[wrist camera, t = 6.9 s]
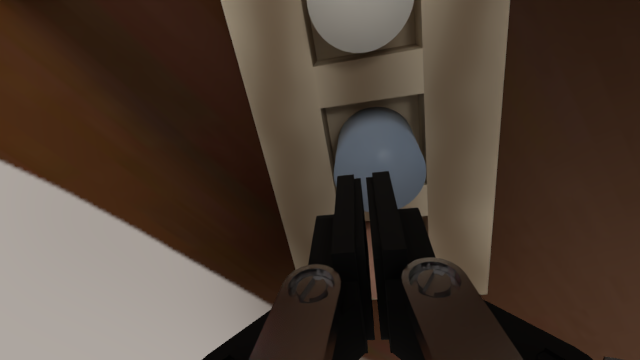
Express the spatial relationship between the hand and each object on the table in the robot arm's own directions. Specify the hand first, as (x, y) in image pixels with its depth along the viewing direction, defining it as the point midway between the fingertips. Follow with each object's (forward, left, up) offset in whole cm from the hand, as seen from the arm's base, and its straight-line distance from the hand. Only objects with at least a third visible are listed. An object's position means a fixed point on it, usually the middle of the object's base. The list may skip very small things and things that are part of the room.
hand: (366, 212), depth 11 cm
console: (-1, +1, -10) cm, 10 cm away
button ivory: (-1, -6, -8) cm, 11 cm away
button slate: (-1, +1, -7) cm, 7 cm away
